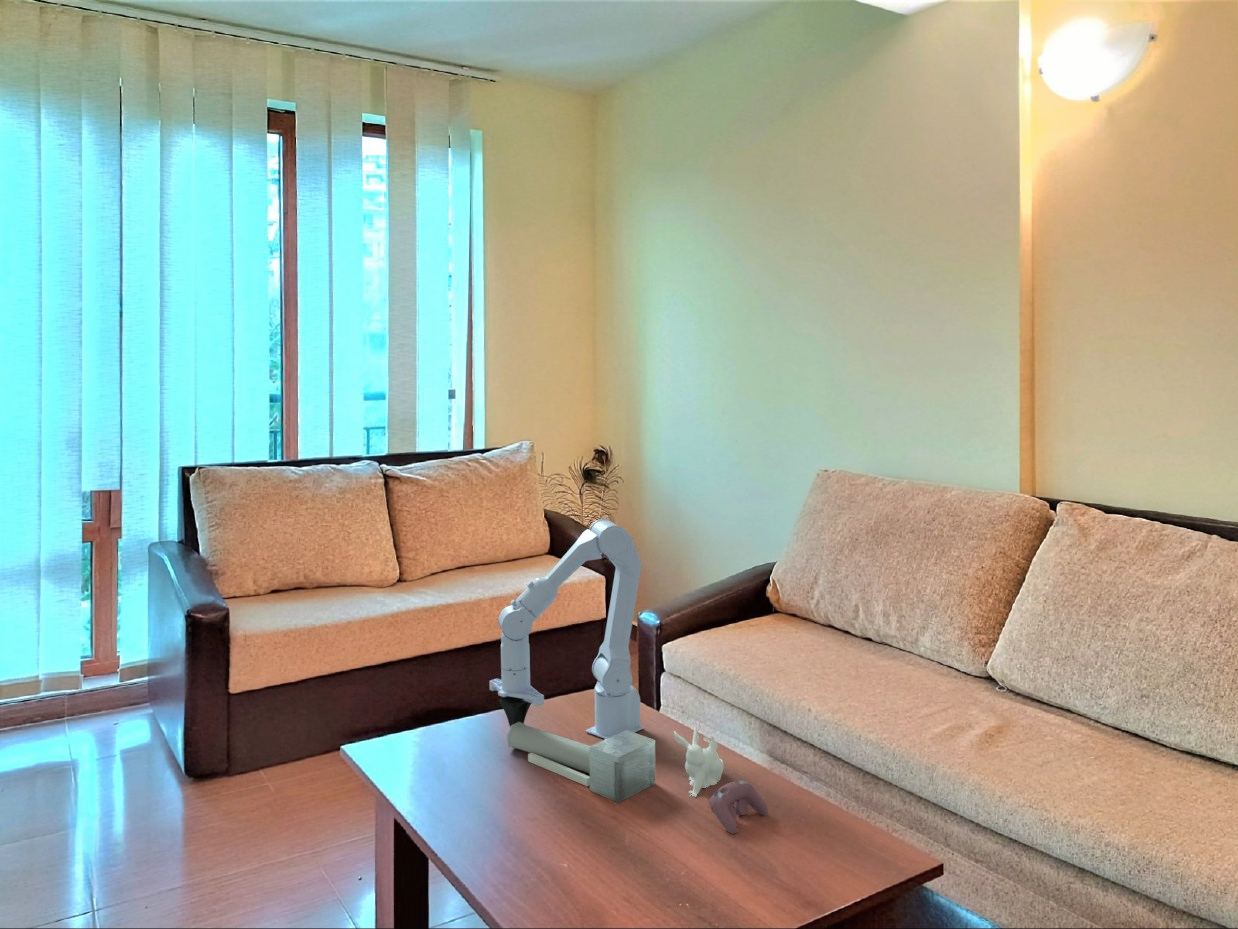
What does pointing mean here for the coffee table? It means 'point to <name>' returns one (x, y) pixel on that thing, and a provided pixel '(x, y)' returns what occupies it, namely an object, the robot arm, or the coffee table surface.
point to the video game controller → (741, 796)
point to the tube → (549, 746)
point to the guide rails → (559, 769)
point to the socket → (622, 765)
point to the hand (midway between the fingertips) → (516, 732)
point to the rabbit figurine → (701, 763)
